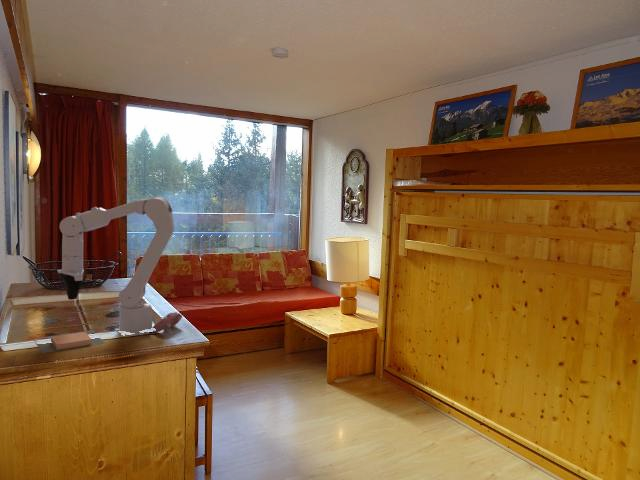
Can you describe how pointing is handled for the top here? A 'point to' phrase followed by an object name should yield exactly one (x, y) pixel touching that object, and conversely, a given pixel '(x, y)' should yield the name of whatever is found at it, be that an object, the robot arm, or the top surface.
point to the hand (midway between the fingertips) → (72, 298)
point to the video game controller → (168, 322)
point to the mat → (50, 348)
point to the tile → (71, 340)
